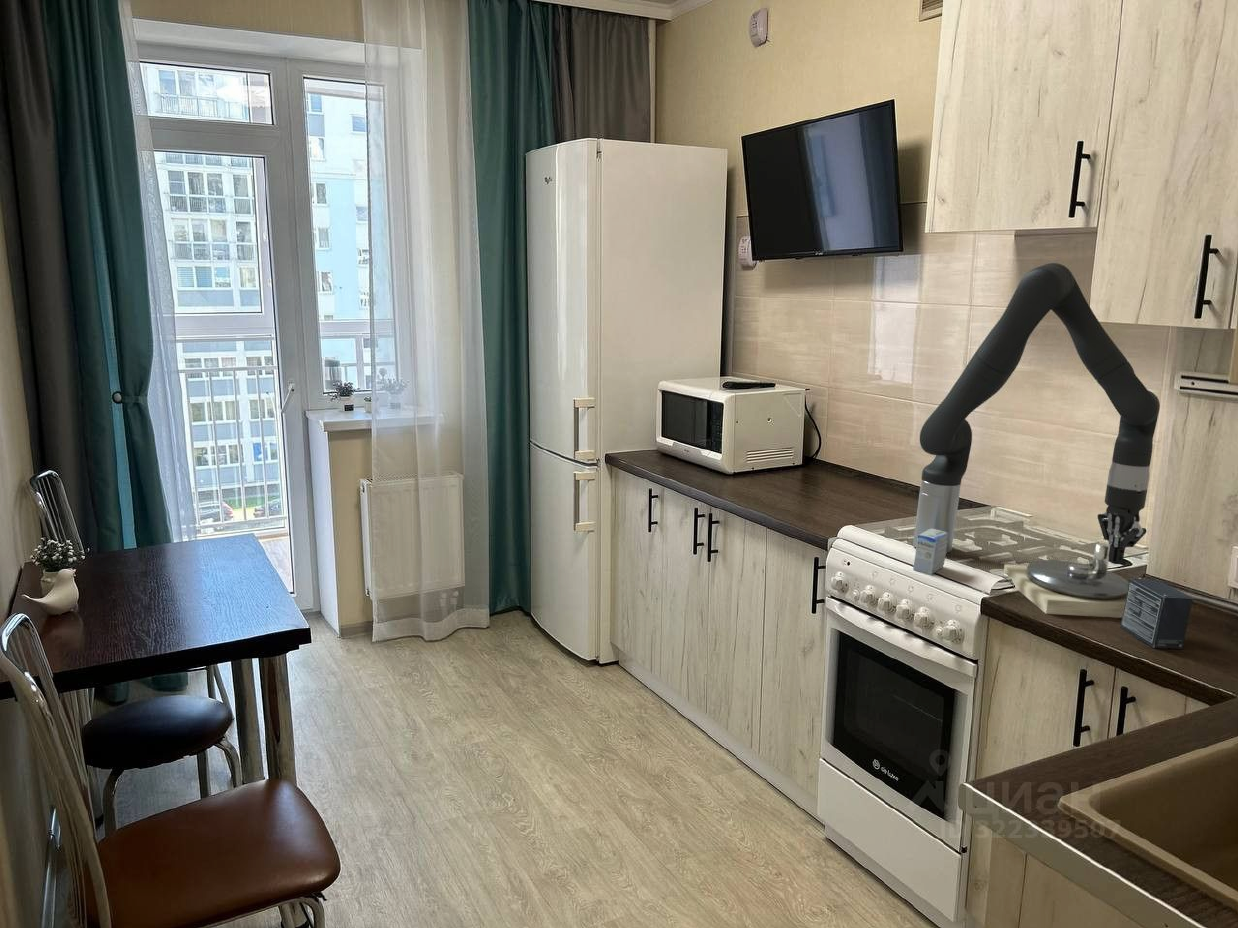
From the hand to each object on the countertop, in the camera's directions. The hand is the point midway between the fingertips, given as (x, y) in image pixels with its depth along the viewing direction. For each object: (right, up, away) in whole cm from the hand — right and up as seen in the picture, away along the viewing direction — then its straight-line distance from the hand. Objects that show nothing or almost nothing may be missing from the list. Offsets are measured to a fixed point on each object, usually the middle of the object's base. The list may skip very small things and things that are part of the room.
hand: (1115, 563), depth 195 cm
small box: (-3, -13, -19) cm, 23 cm away
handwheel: (-8, -4, +1) cm, 9 cm away
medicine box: (-35, -3, +15) cm, 38 cm away
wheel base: (-8, -8, +2) cm, 11 cm away
